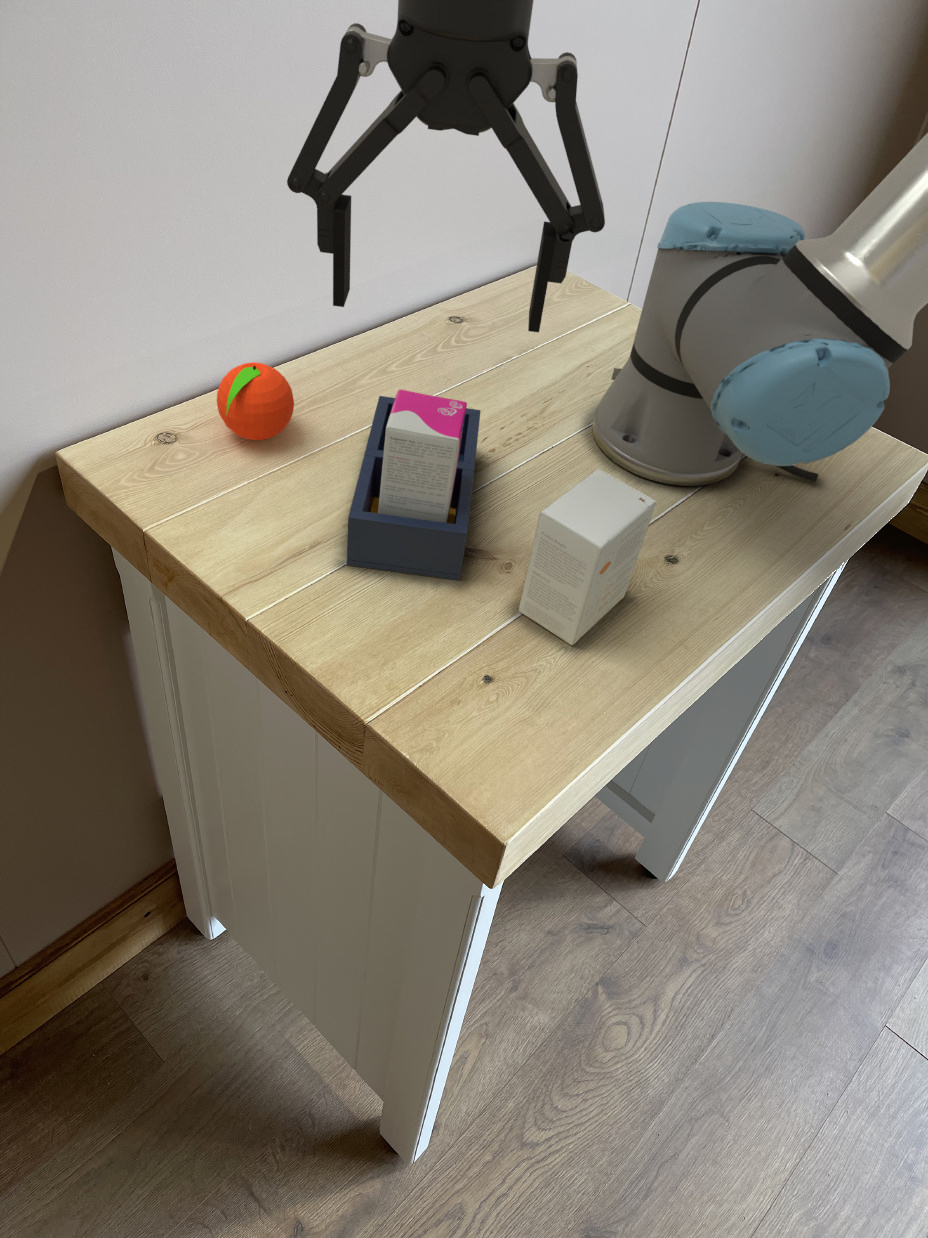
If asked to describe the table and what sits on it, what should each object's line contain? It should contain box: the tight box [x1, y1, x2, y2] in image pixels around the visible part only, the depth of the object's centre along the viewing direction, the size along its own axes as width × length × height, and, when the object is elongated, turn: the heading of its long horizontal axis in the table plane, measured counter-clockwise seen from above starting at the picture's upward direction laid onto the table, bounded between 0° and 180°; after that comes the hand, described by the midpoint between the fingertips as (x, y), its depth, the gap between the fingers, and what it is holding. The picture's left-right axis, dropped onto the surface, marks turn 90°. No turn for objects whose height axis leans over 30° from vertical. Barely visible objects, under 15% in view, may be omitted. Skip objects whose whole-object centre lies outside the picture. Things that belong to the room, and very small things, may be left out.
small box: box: [518, 468, 658, 646], centre depth 72 cm, size 8×6×10 cm
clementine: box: [216, 362, 295, 441], centre depth 84 cm, size 8×7×7 cm
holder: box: [346, 395, 481, 581], centre depth 80 cm, size 18×9×5 cm, turn 176°
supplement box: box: [378, 389, 468, 523], centre depth 74 cm, size 6×6×12 cm
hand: (437, 310), depth 65 cm, fingers open, 13 cm apart
